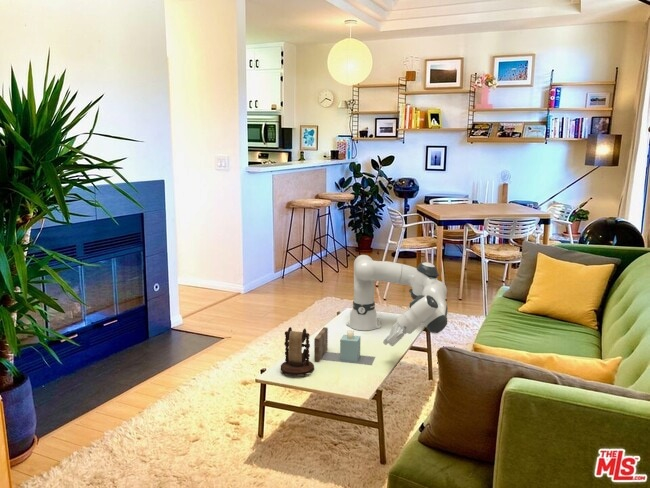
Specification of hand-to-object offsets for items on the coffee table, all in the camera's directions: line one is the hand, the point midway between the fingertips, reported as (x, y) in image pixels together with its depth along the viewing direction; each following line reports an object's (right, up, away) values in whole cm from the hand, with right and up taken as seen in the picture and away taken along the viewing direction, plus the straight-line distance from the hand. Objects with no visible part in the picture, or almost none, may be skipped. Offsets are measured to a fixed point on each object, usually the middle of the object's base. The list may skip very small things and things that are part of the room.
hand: (384, 342), depth 244 cm
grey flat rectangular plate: (-16, -9, +7) cm, 20 cm away
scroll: (-39, -12, -6) cm, 41 cm away
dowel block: (-15, -8, +6) cm, 18 cm away
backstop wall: (-29, -9, +10) cm, 32 cm away
